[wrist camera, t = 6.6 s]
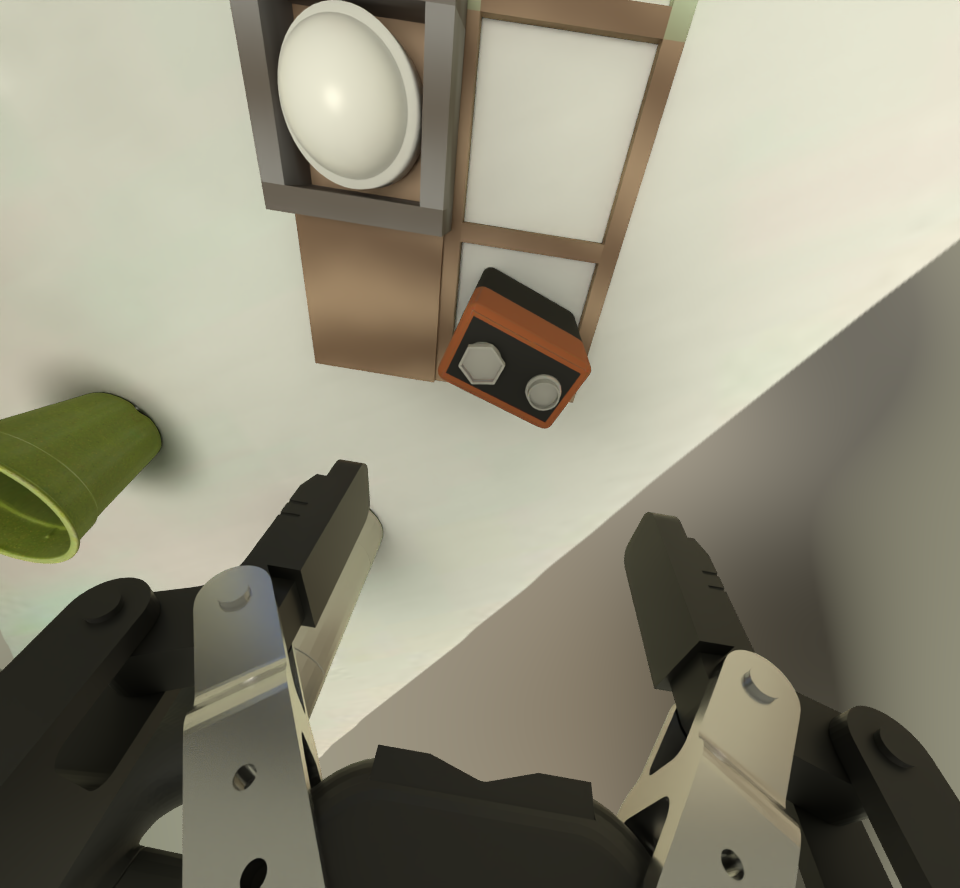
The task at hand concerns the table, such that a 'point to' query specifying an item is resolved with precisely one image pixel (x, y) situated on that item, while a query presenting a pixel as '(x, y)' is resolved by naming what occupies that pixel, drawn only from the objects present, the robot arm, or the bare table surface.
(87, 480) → the plant pot
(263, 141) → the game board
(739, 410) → the table surface
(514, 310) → the battery
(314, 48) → the dome
